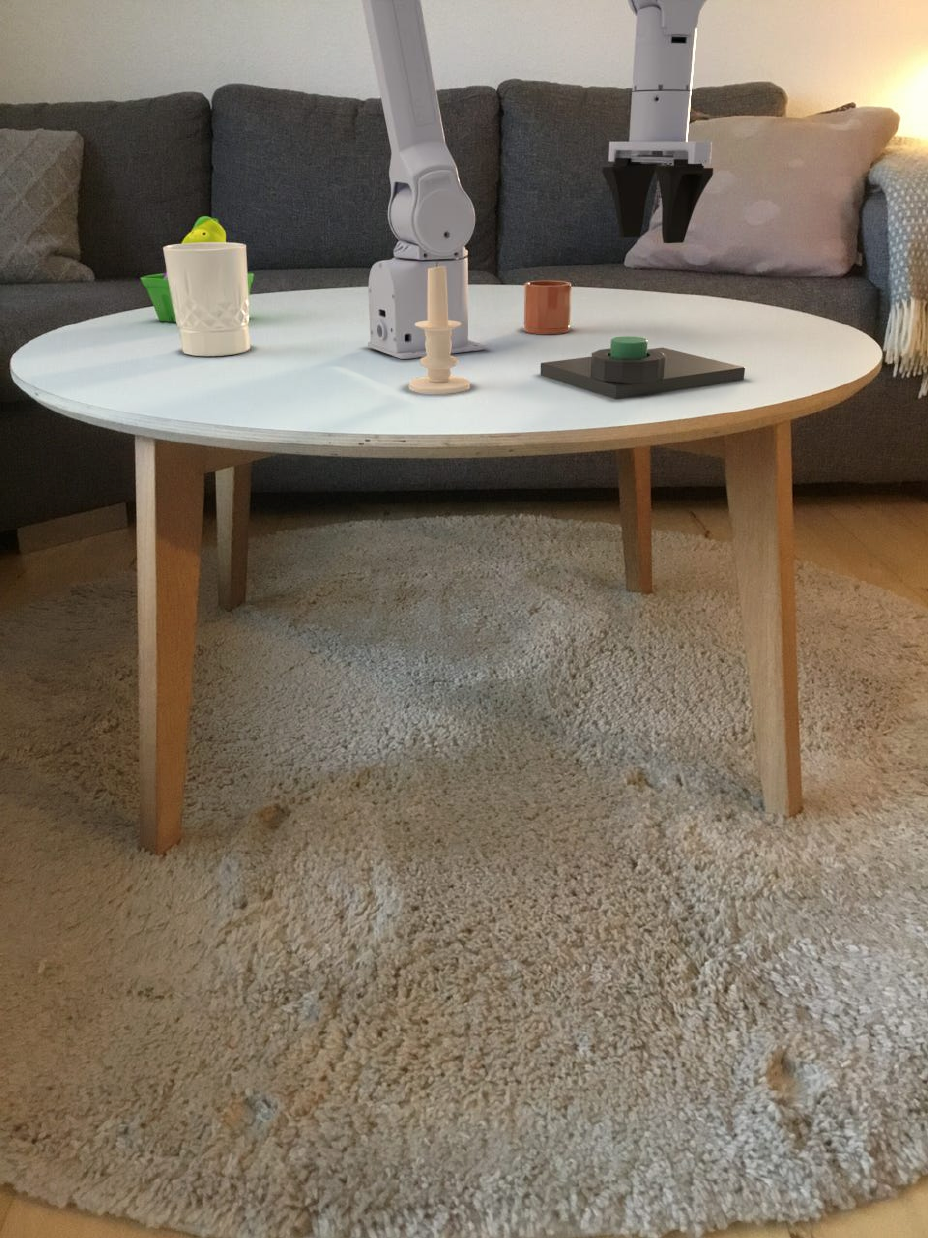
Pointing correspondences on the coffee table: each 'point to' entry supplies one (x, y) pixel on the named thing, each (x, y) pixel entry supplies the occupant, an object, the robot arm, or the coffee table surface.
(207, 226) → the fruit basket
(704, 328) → the coffee table surface
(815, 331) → the coffee table surface
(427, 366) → the candle
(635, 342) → the button
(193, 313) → the white cup
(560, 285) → the terracotta pot
